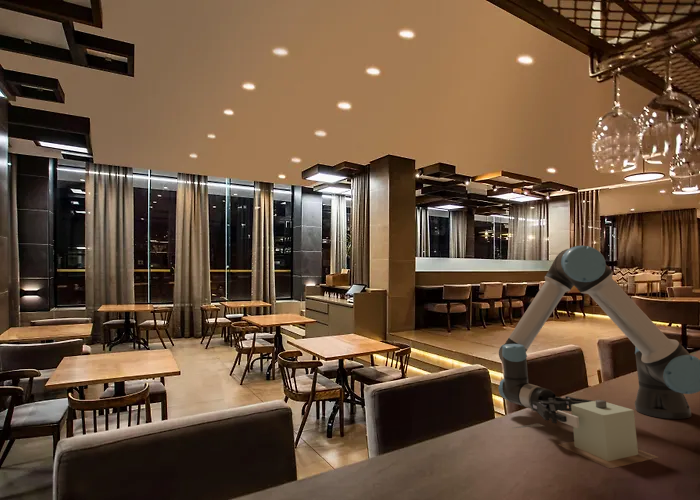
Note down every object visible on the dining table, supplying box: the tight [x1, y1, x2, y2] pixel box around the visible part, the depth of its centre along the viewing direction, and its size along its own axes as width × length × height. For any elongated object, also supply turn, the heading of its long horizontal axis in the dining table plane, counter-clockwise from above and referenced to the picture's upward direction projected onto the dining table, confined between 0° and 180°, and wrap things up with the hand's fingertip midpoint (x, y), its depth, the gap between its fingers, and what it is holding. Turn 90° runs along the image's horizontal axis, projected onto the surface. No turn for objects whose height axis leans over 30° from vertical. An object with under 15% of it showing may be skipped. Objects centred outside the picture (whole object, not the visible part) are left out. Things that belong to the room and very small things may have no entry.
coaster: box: [513, 423, 545, 429], centre depth 123 cm, size 12×12×1 cm
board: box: [557, 441, 660, 470], centre depth 106 cm, size 16×16×1 cm
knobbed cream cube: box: [571, 399, 639, 461], centre depth 107 cm, size 10×10×13 cm
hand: (598, 418), depth 108 cm, fingers open, 13 cm apart
